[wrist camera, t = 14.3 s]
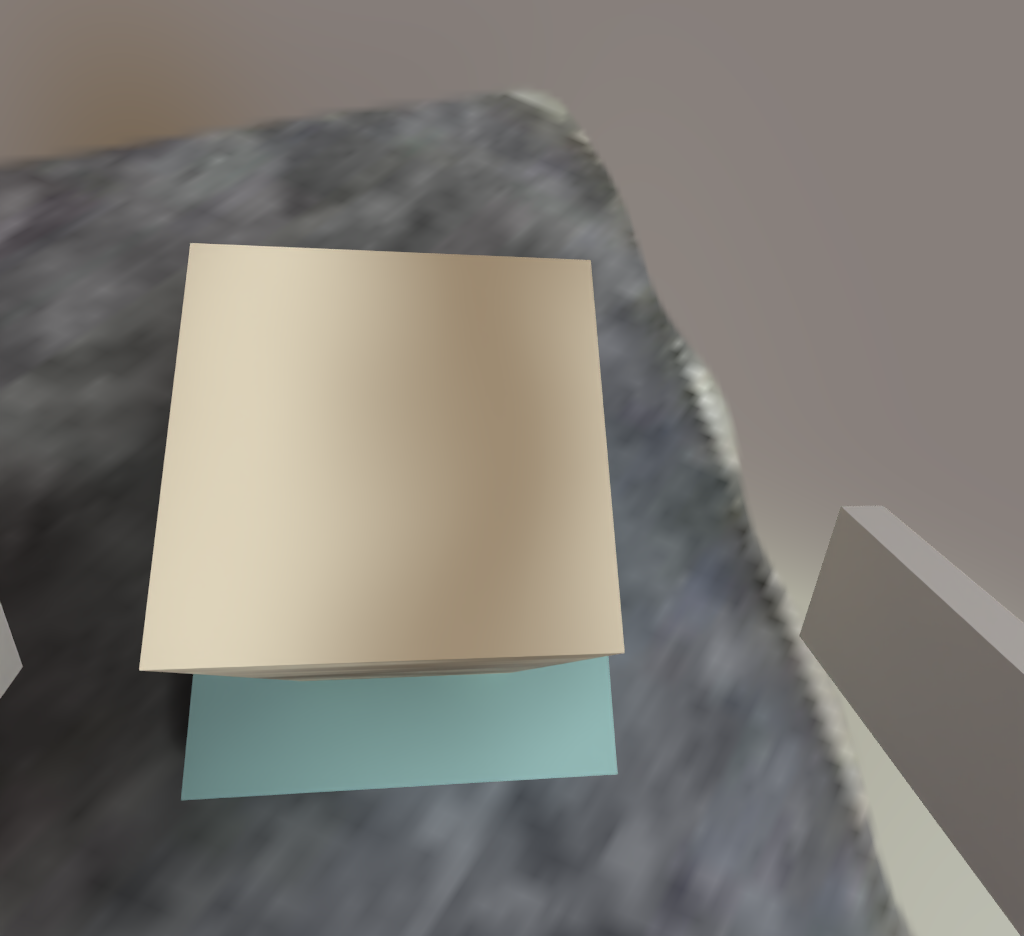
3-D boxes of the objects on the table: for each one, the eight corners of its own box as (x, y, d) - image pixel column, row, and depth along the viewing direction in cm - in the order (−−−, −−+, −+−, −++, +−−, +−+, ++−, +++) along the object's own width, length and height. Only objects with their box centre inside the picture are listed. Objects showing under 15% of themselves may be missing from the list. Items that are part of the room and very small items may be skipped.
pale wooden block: (302, 681, 20) (139, 670, 8) (312, 479, 21) (190, 243, 10) (510, 672, 20) (624, 652, 9) (503, 479, 22) (590, 260, 11)
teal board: (213, 785, 21) (180, 800, 18) (244, 422, 25) (221, 387, 22) (592, 763, 23) (617, 774, 20) (569, 425, 26) (587, 394, 23)
